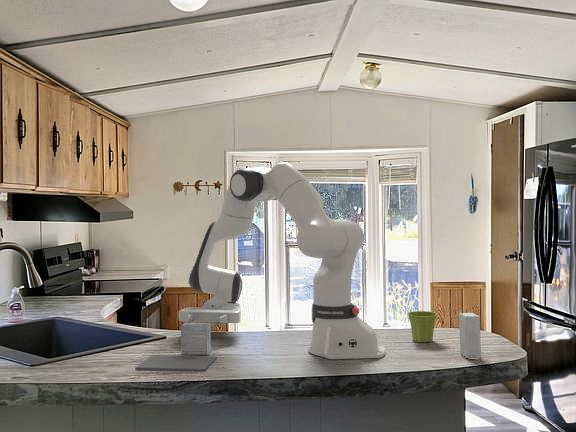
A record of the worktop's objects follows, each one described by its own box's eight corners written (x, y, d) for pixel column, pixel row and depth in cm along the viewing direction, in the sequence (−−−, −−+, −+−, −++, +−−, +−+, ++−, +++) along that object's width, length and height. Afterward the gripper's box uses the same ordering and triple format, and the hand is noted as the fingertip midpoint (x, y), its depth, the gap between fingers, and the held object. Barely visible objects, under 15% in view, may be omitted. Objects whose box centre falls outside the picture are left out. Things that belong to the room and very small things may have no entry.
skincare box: (481, 359, 162) (481, 316, 161) (465, 359, 161) (465, 316, 161) (474, 354, 168) (473, 312, 168) (458, 354, 168) (458, 312, 167)
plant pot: (404, 342, 183) (403, 315, 182) (411, 336, 191) (411, 310, 191) (434, 345, 178) (433, 317, 178) (440, 338, 187) (440, 312, 187)
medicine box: (211, 351, 173) (210, 322, 173) (207, 355, 169) (207, 325, 169) (185, 351, 174) (184, 322, 174) (181, 354, 170) (180, 325, 170)
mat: (216, 358, 165) (216, 356, 165) (205, 371, 152) (205, 369, 152) (152, 357, 167) (152, 354, 167) (135, 369, 154) (135, 367, 154)
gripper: (184, 301, 197) (172, 309, 184) (244, 303, 195) (235, 311, 181) (184, 320, 198) (172, 329, 184) (244, 321, 195) (235, 331, 182)
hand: (204, 320), depth 183 cm, fingers open, 8 cm apart
